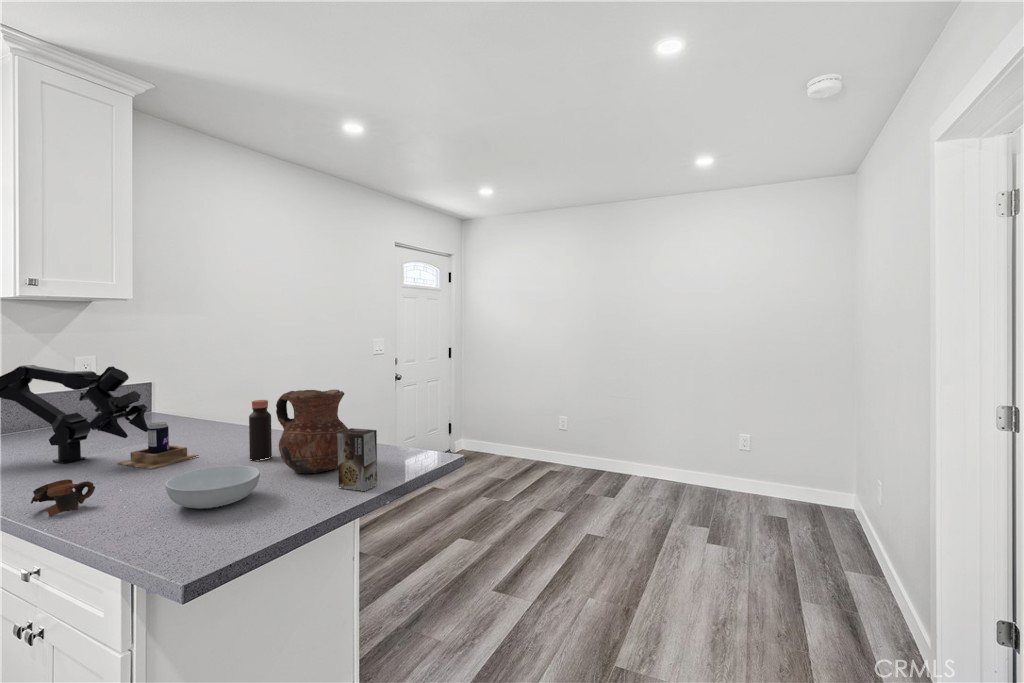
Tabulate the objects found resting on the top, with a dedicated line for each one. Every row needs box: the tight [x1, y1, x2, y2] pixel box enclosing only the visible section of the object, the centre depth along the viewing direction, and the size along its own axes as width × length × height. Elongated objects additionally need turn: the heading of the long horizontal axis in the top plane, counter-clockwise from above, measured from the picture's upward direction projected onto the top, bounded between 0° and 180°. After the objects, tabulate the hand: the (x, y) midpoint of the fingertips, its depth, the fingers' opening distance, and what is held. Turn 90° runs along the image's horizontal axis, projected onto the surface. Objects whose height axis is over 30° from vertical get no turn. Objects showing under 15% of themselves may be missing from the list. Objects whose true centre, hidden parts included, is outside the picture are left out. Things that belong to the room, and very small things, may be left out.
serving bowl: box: [165, 464, 261, 509], centre depth 126 cm, size 21×21×7 cm
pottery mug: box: [30, 478, 96, 517], centre depth 122 cm, size 12×10×8 cm
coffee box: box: [337, 427, 378, 492], centre depth 138 cm, size 9×6×16 cm
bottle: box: [248, 399, 273, 461], centre depth 167 cm, size 7×7×20 cm
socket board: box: [117, 444, 200, 470], centre depth 164 cm, size 16×16×4 cm
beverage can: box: [147, 421, 170, 454], centre depth 164 cm, size 6×6×12 cm
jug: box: [275, 389, 349, 474], centre depth 156 cm, size 22×21×25 cm
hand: (137, 434), depth 164 cm, fingers open, 9 cm apart
